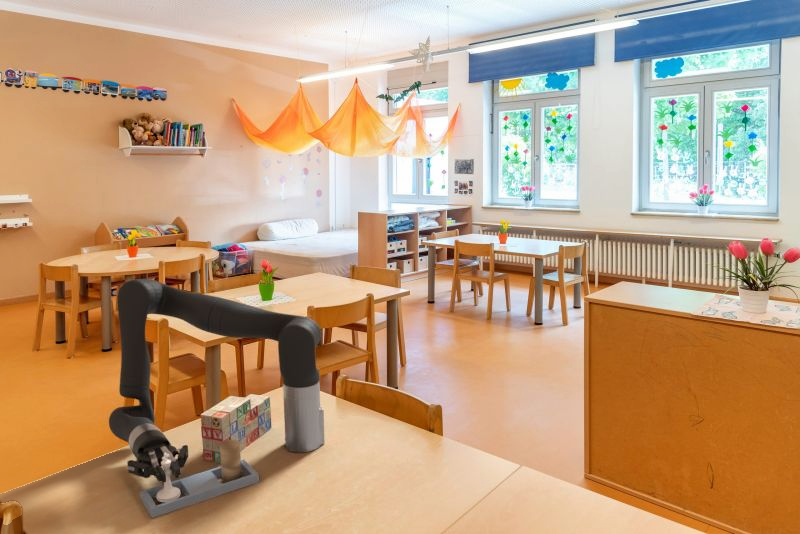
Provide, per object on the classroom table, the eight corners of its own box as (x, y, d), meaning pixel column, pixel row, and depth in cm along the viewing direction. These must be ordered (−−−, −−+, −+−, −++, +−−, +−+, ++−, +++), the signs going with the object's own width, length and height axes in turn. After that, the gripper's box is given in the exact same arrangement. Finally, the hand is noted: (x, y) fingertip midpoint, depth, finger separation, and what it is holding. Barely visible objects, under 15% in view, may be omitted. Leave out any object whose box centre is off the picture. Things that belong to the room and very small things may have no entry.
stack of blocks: (252, 424, 168) (250, 383, 166) (272, 428, 166) (270, 385, 164) (203, 460, 148) (199, 413, 146) (224, 464, 146) (221, 417, 144)
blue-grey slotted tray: (244, 466, 145) (244, 459, 145) (258, 481, 138) (258, 473, 138) (141, 499, 131) (140, 491, 131) (151, 518, 124) (151, 509, 124)
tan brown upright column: (237, 473, 142) (235, 438, 140) (244, 481, 138) (242, 445, 137) (219, 479, 139) (216, 443, 138) (226, 487, 136) (223, 450, 134)
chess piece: (151, 499, 129) (147, 456, 127) (168, 487, 134) (164, 446, 132) (169, 504, 127) (165, 460, 125) (185, 492, 132) (182, 450, 130)
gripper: (115, 437, 136) (134, 470, 122) (178, 422, 144) (202, 450, 130) (118, 468, 137) (137, 503, 124) (180, 451, 145) (204, 482, 132)
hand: (170, 476), depth 127 cm, fingers closed on chess piece
